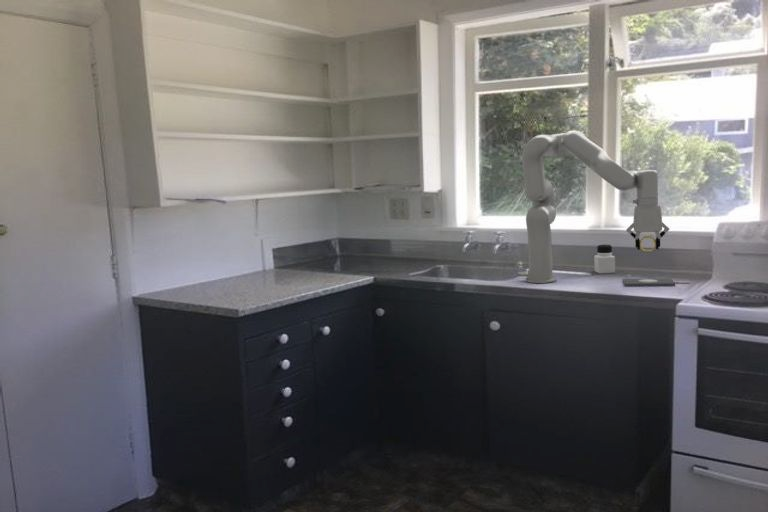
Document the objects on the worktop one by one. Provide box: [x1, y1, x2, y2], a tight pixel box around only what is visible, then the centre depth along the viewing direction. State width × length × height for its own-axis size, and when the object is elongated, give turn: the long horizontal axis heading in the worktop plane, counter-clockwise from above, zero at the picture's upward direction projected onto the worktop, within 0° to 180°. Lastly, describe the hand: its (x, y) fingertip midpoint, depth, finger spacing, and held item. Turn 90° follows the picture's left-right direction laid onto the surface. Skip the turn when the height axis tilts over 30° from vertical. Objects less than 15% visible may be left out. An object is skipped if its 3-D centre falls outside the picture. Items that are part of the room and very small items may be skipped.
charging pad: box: [622, 277, 692, 287], centre depth 264 cm, size 24×12×1 cm, turn 74°
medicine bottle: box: [593, 244, 616, 275], centre depth 297 cm, size 7×7×12 cm
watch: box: [639, 235, 656, 252], centre depth 263 cm, size 6×3×6 cm, turn 60°
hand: (647, 248), depth 263 cm, fingers closed on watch, 6 cm apart
